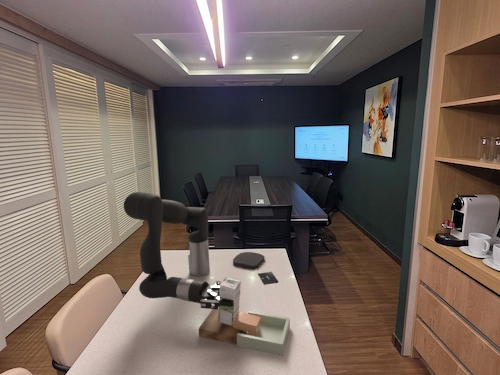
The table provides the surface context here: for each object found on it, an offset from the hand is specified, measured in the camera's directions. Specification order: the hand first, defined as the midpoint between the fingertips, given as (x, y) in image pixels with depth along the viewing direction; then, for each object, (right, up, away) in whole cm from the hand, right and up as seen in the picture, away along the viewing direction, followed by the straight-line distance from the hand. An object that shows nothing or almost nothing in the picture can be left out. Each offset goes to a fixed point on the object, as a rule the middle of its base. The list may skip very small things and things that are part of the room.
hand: (236, 298), depth 96 cm
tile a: (+2, -10, +1) cm, 10 cm away
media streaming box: (+4, -3, +55) cm, 55 cm away
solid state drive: (+13, -6, +38) cm, 41 cm away
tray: (+9, -13, 0) cm, 16 cm away
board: (-4, -12, +4) cm, 14 cm away
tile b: (+5, -10, 0) cm, 11 cm away
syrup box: (-3, -9, +3) cm, 10 cm away
